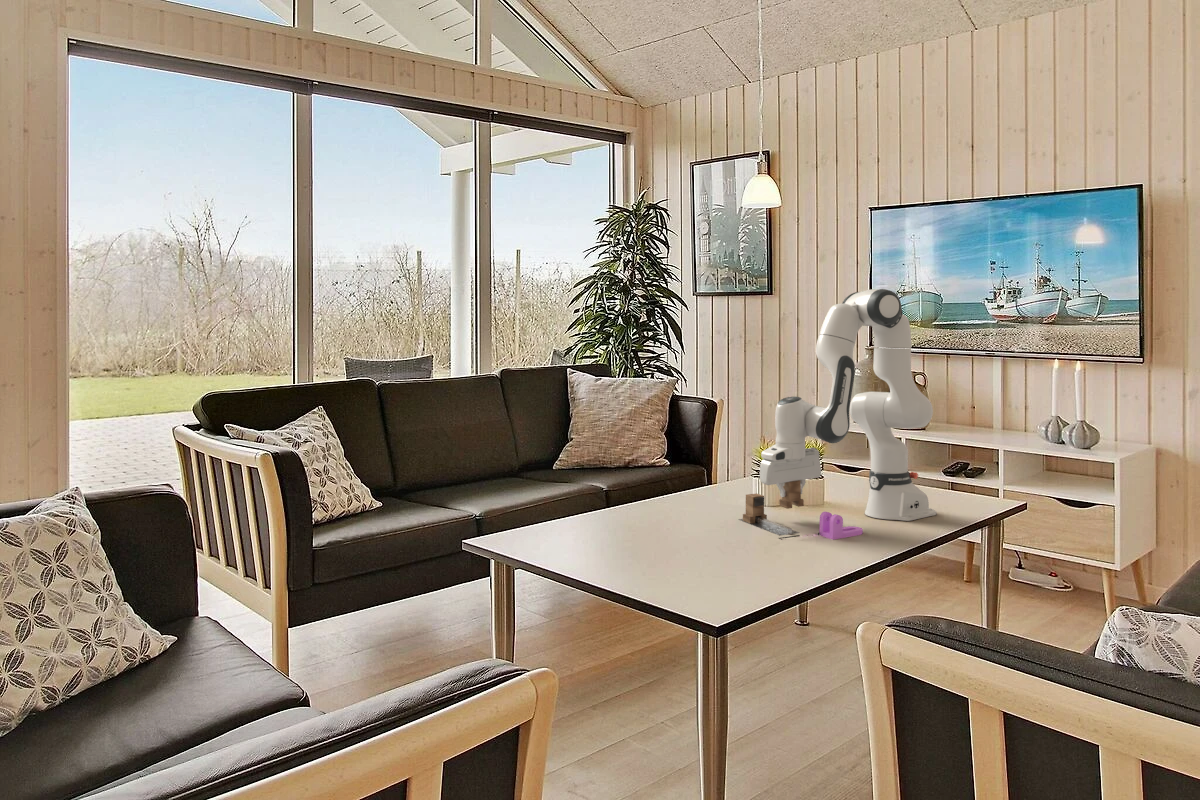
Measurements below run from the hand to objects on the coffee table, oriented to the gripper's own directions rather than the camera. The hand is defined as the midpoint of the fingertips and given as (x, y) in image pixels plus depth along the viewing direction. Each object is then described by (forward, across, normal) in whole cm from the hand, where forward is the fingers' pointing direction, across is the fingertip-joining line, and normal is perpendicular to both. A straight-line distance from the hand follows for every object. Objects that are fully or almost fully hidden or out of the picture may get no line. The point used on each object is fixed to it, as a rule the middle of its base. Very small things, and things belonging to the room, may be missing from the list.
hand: (791, 495), depth 271 cm
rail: (+8, +10, +2) cm, 14 cm away
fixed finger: (+8, +10, -5) cm, 14 cm away
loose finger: (+3, 0, 0) cm, 3 cm away
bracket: (+9, -6, +17) cm, 20 cm away
